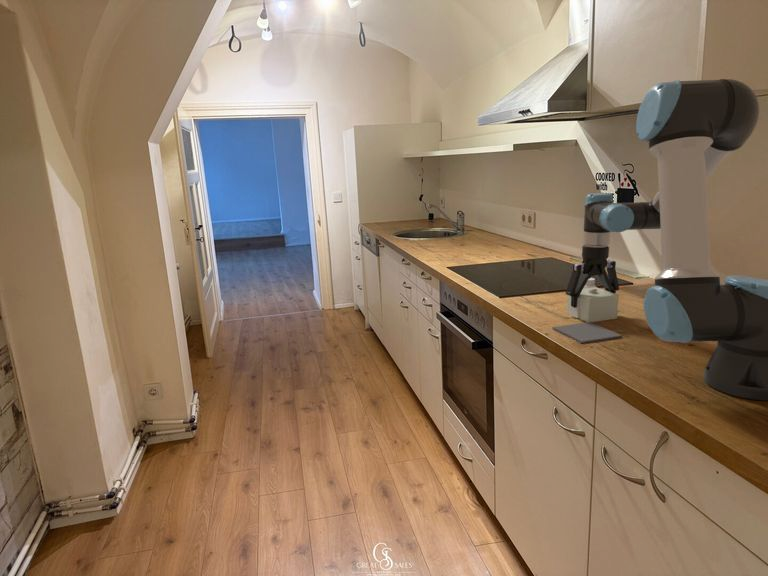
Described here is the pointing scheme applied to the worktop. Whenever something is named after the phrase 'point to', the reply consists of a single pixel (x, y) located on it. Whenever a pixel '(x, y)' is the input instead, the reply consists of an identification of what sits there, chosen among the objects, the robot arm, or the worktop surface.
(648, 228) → the robot arm
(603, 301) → the cover
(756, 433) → the worktop surface
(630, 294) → the worktop surface
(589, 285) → the pill bottle
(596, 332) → the mat
